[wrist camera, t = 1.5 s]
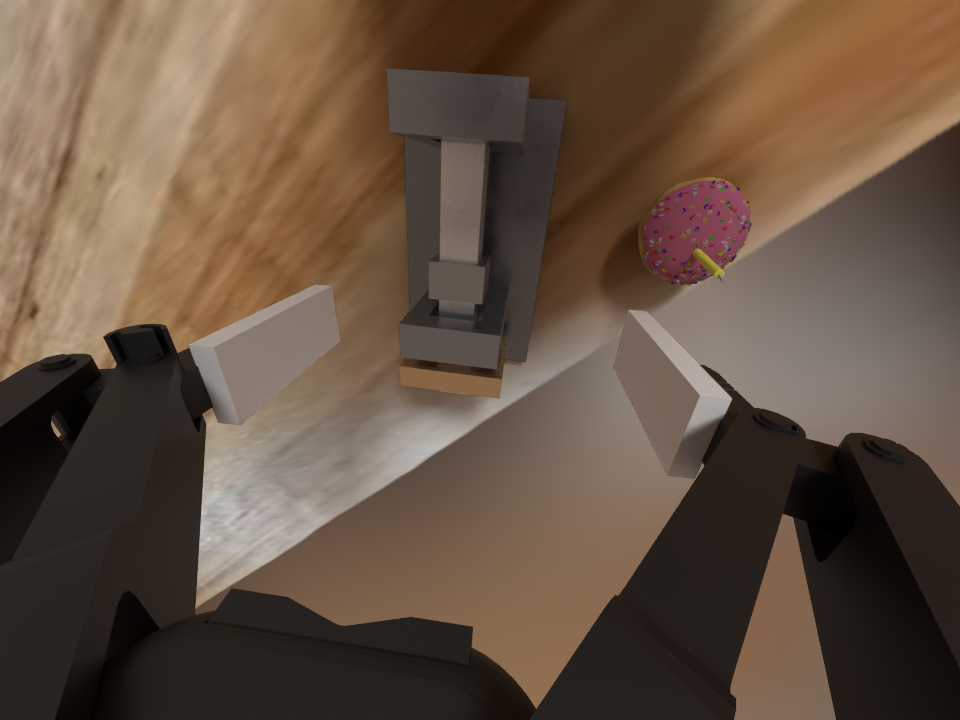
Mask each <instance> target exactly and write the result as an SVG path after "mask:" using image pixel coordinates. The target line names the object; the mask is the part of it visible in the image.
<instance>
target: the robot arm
mask: <svg viewBox="0 0 960 720" xmlns="http://www.w3.org/2000/svg"><path fill="white" fill-rule="evenodd" d="M103 338H104V340H105V341H106V343H107V345H108V347H109V349H110V351H111V353H112V355H113V357H114V359H115V361H116V363H117V365H116V367H115V368H113V369H98V367H97V365H96V364H95V362H94V360H93V358H92V357H91V355H88V354H69V355H65V354H61V355H55V356H51V357H47V358H44V359H43V360H41V361H39V362H36V363H33V364H31V365H29V366H27V367H25V368H23V369H21V370H20V371H18V372H16V373H15V374H13V375H12V376H10V377H8V378H7V379H5V380H3V381H2V382H0V720H734V717H735V712H736V698H735V697H734V696H733V695H732V694H730V686H731V682H732V678H733V674H734V671H735V668H736V664H737V661H738V658H739V655H740V652H741V648H742V645H743V642H744V638H745V635H746V632H747V629H748V625H749V622H750V619H751V616H752V612H753V609H754V606H755V602H756V599H757V596H758V593H759V589H760V586H761V583H762V580H763V576H764V573H765V570H766V566H767V563H768V560H769V557H770V553H771V550H772V547H773V543H774V540H775V537H776V533H777V530H778V527H779V524H780V520H781V517H782V514H785V515H788V516H792V517H793V519H794V523H795V528H796V533H797V537H798V542H799V546H800V552H801V556H802V561H803V566H804V570H805V575H806V579H807V584H808V589H809V594H810V599H811V603H812V608H813V612H814V617H815V622H816V627H817V631H818V636H819V641H820V645H821V650H822V655H823V660H824V664H825V669H826V674H827V678H828V683H829V688H830V693H831V697H832V702H833V707H834V711H835V716H836V720H960V506H959V505H958V503H957V502H956V501H955V499H954V498H953V497H952V496H951V494H950V493H949V492H948V491H947V489H946V488H945V486H944V485H943V484H942V482H941V481H940V480H939V478H938V477H937V476H936V475H935V473H934V472H933V471H932V469H931V468H930V467H929V465H928V464H927V463H926V462H925V461H924V460H923V459H922V458H920V457H919V456H918V455H916V454H914V453H913V452H911V451H909V450H908V449H907V448H906V447H905V446H903V445H901V444H896V442H894V441H891V440H888V439H882V438H879V437H876V436H873V435H868V434H864V433H850V434H848V435H846V436H845V438H844V439H843V440H842V442H841V443H840V445H839V446H838V447H836V446H833V445H828V444H825V443H821V442H818V441H814V440H810V439H806V434H805V431H804V430H803V429H802V428H801V427H800V426H799V425H798V424H797V423H795V422H794V421H792V420H791V419H789V418H787V417H784V416H782V415H780V414H778V413H775V412H772V411H769V410H765V409H760V408H754V407H753V406H752V405H751V404H750V403H748V402H747V401H746V400H745V399H744V398H743V397H742V396H741V395H740V394H739V393H738V392H737V391H735V390H734V388H733V387H732V386H731V385H730V384H728V383H727V382H726V381H725V380H724V378H722V376H720V375H719V374H718V373H717V372H715V371H713V370H712V369H710V368H708V367H706V366H705V365H699V364H698V363H697V362H696V361H695V360H694V359H693V358H692V357H691V356H690V355H689V354H688V353H687V352H686V351H685V350H684V349H683V348H682V347H681V346H680V345H679V344H678V343H677V342H676V341H675V340H674V339H673V338H672V336H671V335H670V334H669V333H667V331H666V330H665V329H663V327H662V326H661V325H660V324H659V323H658V322H657V321H656V320H655V319H654V318H653V317H652V316H651V315H650V314H649V313H648V312H647V311H637V310H628V313H627V316H626V320H625V324H624V328H623V332H622V336H621V339H620V343H619V347H618V351H617V355H616V359H615V362H614V366H613V367H614V369H615V371H616V373H617V375H618V377H619V379H620V381H621V383H622V385H623V388H624V390H625V392H626V394H627V396H628V397H629V400H630V402H631V403H632V406H633V408H634V410H635V412H636V414H637V416H638V418H639V420H640V422H641V424H642V426H643V428H644V430H645V432H646V434H647V436H648V438H649V440H650V442H651V444H652V446H653V448H654V450H655V452H656V454H657V456H658V458H659V461H660V463H661V465H662V466H663V469H664V470H665V473H666V475H667V476H674V477H683V478H692V479H695V477H696V475H697V473H698V471H699V469H700V467H701V464H702V462H703V464H704V468H703V469H702V471H701V472H700V474H699V475H698V477H697V478H696V480H695V481H694V483H693V484H692V486H691V487H690V489H689V490H688V492H687V493H686V495H685V497H684V498H683V500H682V501H681V503H680V504H679V506H678V507H677V509H676V510H675V512H674V513H673V515H672V516H671V518H670V519H669V521H668V522H667V524H666V525H665V527H664V528H663V530H662V532H661V533H660V534H659V536H658V537H657V539H656V540H655V542H654V543H653V545H652V547H651V548H650V550H649V551H648V553H647V554H646V556H645V557H644V559H643V560H642V562H641V563H640V565H639V566H638V568H637V569H636V571H635V572H634V574H633V576H632V577H631V579H630V580H629V581H628V583H627V585H626V586H625V587H624V589H623V590H622V592H621V593H620V594H619V595H618V596H616V595H615V596H614V597H613V598H612V599H611V600H610V602H609V603H608V604H607V606H606V607H605V609H604V610H603V611H602V613H601V614H600V616H599V617H598V619H597V620H596V622H595V623H594V625H593V626H592V628H591V629H590V631H589V632H588V633H587V635H586V636H585V638H584V640H583V641H582V642H581V644H580V645H579V647H578V648H577V650H576V651H575V653H574V654H573V656H572V657H571V659H570V660H569V662H568V663H567V665H566V666H565V668H564V669H563V671H562V672H561V674H560V675H559V677H558V678H557V679H556V681H555V682H554V684H553V685H552V687H551V688H550V690H549V691H548V693H547V695H546V696H545V697H544V699H543V700H542V702H541V703H540V705H539V706H538V708H537V709H536V708H535V706H534V705H533V703H532V702H531V700H530V699H529V697H528V696H527V694H526V693H525V692H524V691H523V689H522V688H521V687H520V686H519V685H518V683H517V682H516V681H515V680H514V679H513V678H512V677H511V676H510V675H509V674H508V673H507V672H506V671H505V670H504V669H503V668H502V667H501V666H500V665H498V664H497V663H496V662H494V661H493V660H491V659H490V658H489V657H487V656H486V655H485V654H483V653H481V652H479V651H477V650H475V649H474V648H471V647H472V633H473V627H470V626H465V625H458V624H452V623H446V622H439V621H433V620H427V619H421V618H414V617H408V618H400V619H393V620H386V621H379V622H372V623H365V624H357V625H350V626H340V625H337V624H335V623H333V622H331V621H329V620H327V619H326V618H324V617H322V616H321V615H319V614H317V613H315V612H313V611H312V610H310V609H308V608H306V607H305V606H303V605H301V604H299V603H297V602H295V601H294V600H292V599H290V598H288V597H283V596H277V595H270V594H264V593H257V592H252V591H245V590H239V589H231V590H230V591H229V593H228V594H227V596H226V597H225V598H224V600H223V601H222V603H221V604H220V605H219V607H218V608H217V609H216V610H215V611H210V612H206V613H202V614H198V615H195V605H196V588H197V571H198V555H199V538H200V521H201V505H202V488H203V471H204V455H205V438H206V422H205V420H204V417H203V415H202V414H203V413H205V412H206V411H207V410H209V409H210V408H213V410H214V413H215V415H216V418H217V421H218V423H225V424H234V425H242V424H243V423H244V422H245V421H246V420H248V419H249V418H250V417H251V416H252V415H253V414H255V413H256V412H257V411H258V410H259V409H261V408H262V407H263V406H264V405H265V404H266V403H268V402H269V401H270V400H271V399H272V398H274V397H275V396H276V395H277V394H278V393H279V392H281V391H282V390H283V389H284V388H285V387H287V386H288V385H289V384H290V383H291V382H292V381H294V380H295V379H296V378H297V377H298V376H300V375H301V374H302V373H303V372H304V371H306V370H307V369H308V368H309V367H310V366H311V365H313V364H314V363H315V362H316V361H317V360H319V359H320V358H321V357H322V356H323V355H324V354H326V353H327V352H328V351H329V350H330V349H332V348H333V347H334V346H335V345H336V344H337V343H339V342H340V336H339V330H338V323H337V317H336V310H335V304H334V298H333V291H332V286H328V285H313V286H311V287H309V288H307V289H305V290H303V291H301V292H299V293H297V294H294V295H292V296H290V297H288V298H286V299H284V300H282V301H280V302H278V303H275V304H273V305H271V306H269V307H267V308H265V309H263V310H261V311H259V312H256V313H254V314H252V315H250V316H248V317H246V318H244V319H242V320H240V321H237V322H235V323H233V324H231V325H229V326H227V327H225V328H223V329H221V330H218V331H216V332H214V333H212V334H210V335H208V336H206V337H204V338H202V339H199V340H197V341H195V342H193V343H191V344H189V345H188V346H189V348H188V349H186V350H183V351H181V352H179V353H177V351H176V349H175V346H174V344H173V341H172V339H171V336H170V334H169V332H168V329H167V327H166V326H165V325H162V324H142V325H135V326H130V327H125V328H122V329H118V330H115V331H113V332H110V333H108V334H106V335H105V336H104V337H103ZM51 420H52V422H53V423H54V425H55V426H56V428H57V429H58V431H59V432H60V434H61V435H60V436H59V437H57V436H56V434H55V433H54V431H53V429H52V426H51Z"/></svg>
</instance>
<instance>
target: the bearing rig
mask: <svg viewBox="0 0 960 720" xmlns="http://www.w3.org/2000/svg"><path fill="white" fill-rule="evenodd" d="M387 88H388V109H389V130H390V133H393V134H396V135H399V136H403V137H405V170H406V203H407V236H408V269H409V302H410V311H409V313H408V314H407V315H406V316H405V317H404V318H403V319H402V321H401V322H400V323H399V339H400V357H403V358H411V359H418V360H426V361H434V362H442V363H450V364H458V365H466V366H474V367H481V368H489V369H497V364H498V358H499V352H500V346H501V340H502V335H505V336H507V344H506V352H505V359H507V360H515V361H523V362H526V356H527V350H528V344H529V337H530V331H531V325H532V318H533V312H534V306H535V299H536V293H537V287H538V280H539V274H540V268H541V262H542V255H543V249H544V243H545V236H546V230H547V224H548V217H549V211H550V205H551V198H552V192H553V186H554V180H555V173H556V167H557V161H558V154H559V148H560V142H561V135H562V129H563V123H564V116H565V110H566V104H567V100H554V99H538V98H529V77H518V76H502V75H486V74H469V73H453V72H437V71H420V70H404V69H388V68H387ZM441 139H444V140H457V141H470V142H483V143H490V153H489V166H488V180H487V194H486V207H485V221H484V234H483V248H482V254H483V255H491V258H490V270H489V282H488V290H487V293H486V295H485V298H484V301H483V304H478V316H477V321H470V320H461V319H453V318H444V317H439V300H438V299H429V261H430V260H431V259H432V258H433V257H434V256H436V255H437V254H438V253H439V252H440V205H441Z"/></svg>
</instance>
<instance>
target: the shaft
mask: <svg viewBox="0 0 960 720" xmlns="http://www.w3.org/2000/svg"><path fill="white" fill-rule="evenodd" d="M437 72H440V71H437ZM453 73H457V72H453ZM469 74H473V73H469ZM486 75H489V74H486ZM489 153H490V143H483V142H470V141H457V140H444V139H441V205H440V252H439V253H438V254H437V255H436V256H434V257H433V258H432V259H431V260H430V261H429V299H438V300H439V317H444V318H453V319H461V320H470V321H477V316H478V304H483V301H484V298H485V295H486V293H487V290H488V282H489V270H490V258H491V255H483V254H482V248H483V234H484V221H485V207H486V194H487V180H488V166H489ZM438 391H440V390H438ZM441 392H447V391H441ZM449 393H455V392H449ZM456 394H462V393H456ZM464 395H469V394H464Z"/></svg>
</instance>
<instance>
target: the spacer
mask: <svg viewBox="0 0 960 720" xmlns="http://www.w3.org/2000/svg"><path fill="white" fill-rule="evenodd" d="M506 344H507V336H505V335H502V340H501V346H500V352H499V358H498V364H497V369H489V368H481V367H474V366H466V365H458V364H450V363H442V362H434V361H426V360H418V359H411V358H405V359H404V360H403V361H402V363H401V364H400V366H399V370H400V385H402V386H410V387H417V388H425V389H432V390H440V391H447V392H455V393H462V394H469V395H477V396H484V397H492V398H499V397H500V390H501V382H502V375H503V367H504V360H505V352H506Z"/></svg>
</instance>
